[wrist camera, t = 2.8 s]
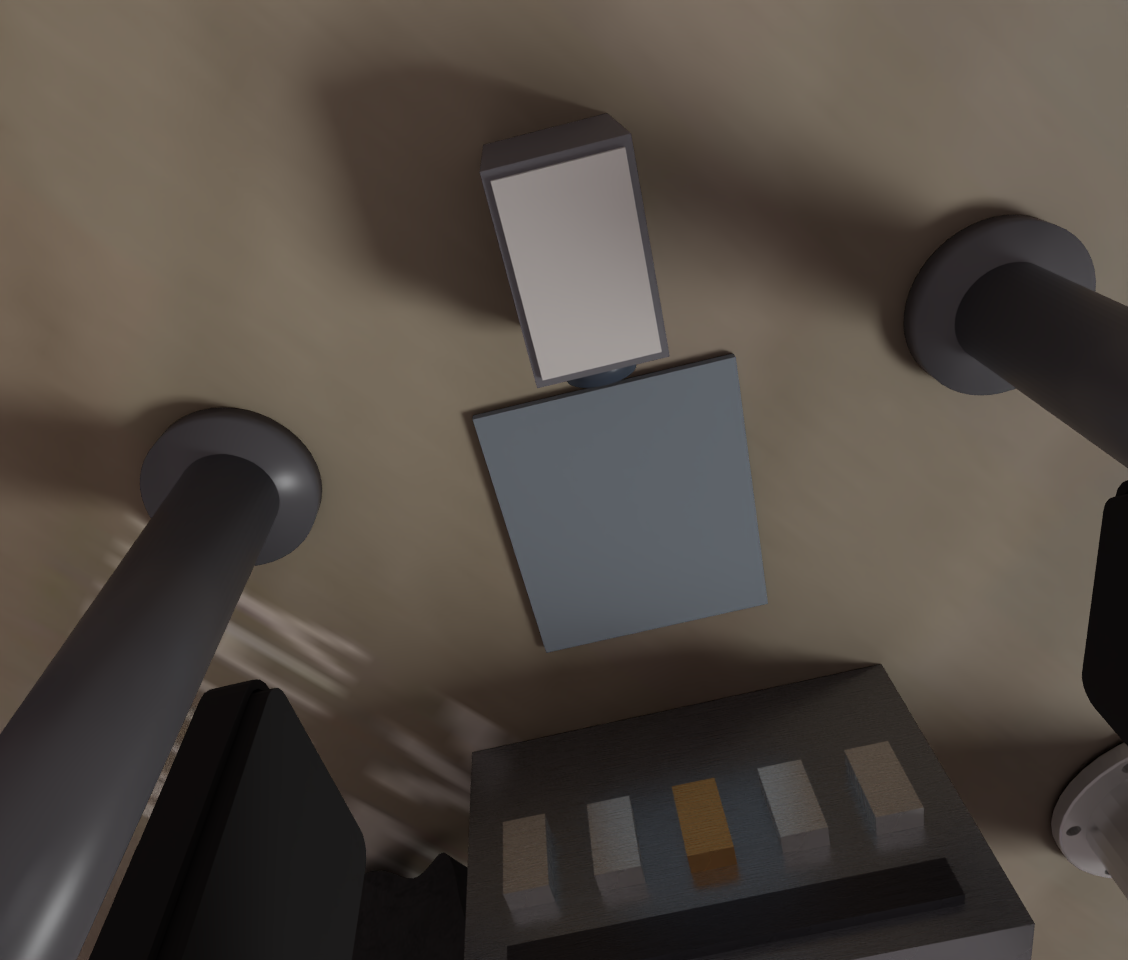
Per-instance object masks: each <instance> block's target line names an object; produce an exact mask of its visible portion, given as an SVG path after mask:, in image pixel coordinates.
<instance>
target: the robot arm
mask: <svg viewBox="0 0 1128 960" xmlns="http://www.w3.org/2000/svg"><path fill="white" fill-rule="evenodd" d="M1082 681H1083V686H1084V689H1085V692H1086V694H1087V696H1088V698H1089V700H1090V702H1091V703H1092V705H1093V706H1094V708H1095V709H1096V710H1097V711H1098V712H1099V714H1100V715H1101V716H1102V717H1103V718H1104V719H1105V720H1106V722H1107V723H1108V724H1109V725H1110V726H1111V727H1112V729H1113V730H1114V731H1115V732H1116V733H1117V734H1118V736H1119V737H1120V738H1121V739H1122V740H1123V741H1124V743H1122V744H1120V745H1118V746H1116V747H1114V748H1113V749H1111V750H1109V751H1108V752H1106V753H1104V754H1103V755H1101V756H1099V757H1098V758H1097V759H1096V760H1094V761H1093V762H1092V763H1090V764H1089V765H1088V766H1087V767H1085V768H1084V769H1083V770H1082V771H1081V772H1080V773H1079V774H1078V775H1077V776H1076V777H1075V778H1074V779H1073V780H1072V781H1071V782H1070V783H1069V785H1068V786H1067V787H1066V789H1065V790H1064V791H1063V793H1062V794H1061V796H1060V798H1059V800H1058V802H1057V804H1056V806H1055V809H1054V811H1053V816H1052V821H1051V828H1052V836H1053V838H1054V840H1055V842H1056V844H1057V846H1058V847H1059V849H1060V850H1061V851H1062V853H1063V854H1064V855H1065V857H1066V858H1067V860H1068V861H1069V862H1070V863H1071V864H1073V865H1074V866H1075V867H1077V868H1078V869H1080V870H1082V871H1085V872H1087V873H1090V874H1092V875H1097V876H1101V877H1107V878H1113V880H1114V881H1115V883H1116V884H1117V885H1118V887H1119V888H1120V890H1121V891H1122V892H1123V894H1124V895H1125V897H1126V898H1127V899H1128V480H1127V481H1125V482H1123V483H1122V484H1121V485H1120V487H1119V488H1118V490H1117V493H1116V497H1113V498H1110V499H1109V500H1108V501H1107V502H1106V503H1105V507H1104V511H1103V518H1102V526H1101V533H1100V541H1099V548H1098V556H1097V564H1096V571H1095V579H1094V586H1093V594H1092V601H1091V609H1090V617H1089V624H1088V632H1087V639H1086V647H1085V654H1084V662H1083V670H1082ZM365 867H366V848H365V842H364V838H363V834H362V832H361V830H360V828H359V826H358V824H357V823H356V821H355V819H354V817H353V815H352V814H351V812H350V810H349V808H348V806H347V805H346V803H345V801H344V799H343V798H342V796H341V794H340V792H339V790H338V789H337V787H336V785H335V783H334V781H333V780H332V778H331V776H330V774H329V772H328V771H327V769H326V767H325V765H324V763H323V762H322V760H321V758H320V756H319V754H318V753H317V751H316V749H315V747H314V745H313V744H312V742H311V740H310V738H309V736H308V735H307V733H306V731H305V729H304V727H303V726H302V724H301V722H300V720H299V718H298V717H297V715H296V713H295V711H294V710H293V708H292V706H291V704H290V702H289V701H288V699H287V697H286V695H285V694H284V693H283V691H282V690H280V689H279V688H273V689H269V688H268V686H267V685H266V684H265V683H264V682H263V681H261V680H250V681H246V682H241V683H237V684H233V685H228V686H224V687H219V688H215V689H211V690H209V691H207V692H206V693H204V695H203V696H202V698H201V699H200V701H199V704H198V706H197V708H196V711H195V713H194V715H193V718H192V720H191V722H190V725H189V727H188V729H187V732H186V734H185V736H184V739H183V741H182V743H181V746H180V748H179V750H178V753H177V755H176V757H175V760H174V762H173V764H172V767H171V769H170V772H169V774H168V776H167V779H166V781H165V783H164V786H163V788H162V790H161V793H160V795H159V797H158V800H157V802H156V804H155V807H154V809H153V811H152V814H151V816H150V818H149V821H148V823H147V825H146V828H145V830H144V832H143V835H142V837H141V840H140V842H139V844H138V846H137V848H136V850H135V852H134V855H133V857H132V859H131V862H130V864H129V866H128V869H127V871H126V873H125V876H124V878H123V880H122V883H121V885H120V888H119V890H118V892H117V895H116V897H115V899H114V902H113V904H112V906H111V909H110V911H109V913H108V916H107V918H106V920H105V923H104V925H103V927H102V930H101V932H100V934H99V937H98V939H97V941H96V944H95V946H94V948H93V951H92V953H91V955H90V958H89V960H352V954H353V947H354V941H355V934H356V927H357V921H358V914H359V907H360V901H361V894H362V887H363V881H364V874H365Z"/></svg>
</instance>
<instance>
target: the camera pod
mask: <svg viewBox="0 0 1128 960" xmlns="http://www.w3.org/2000/svg"><path fill="white" fill-rule="evenodd" d="M480 175H481V179H482V183H483V187H484V190H485V194H486V198H487V202H488V205H489V209H490V213H491V217H492V220H493V224H494V228H495V232H496V235H497V239H498V243H499V247H500V250H501V254H502V258H503V262H504V265H505V269H506V273H507V277H508V280H509V284H510V288H511V292H512V295H513V299H514V303H515V307H516V310H517V314H518V318H519V322H520V325H521V329H522V333H523V337H524V340H525V344H526V348H527V352H528V355H529V359H530V363H531V367H532V370H533V374H534V378H535V382H536V385H537V388H540V387H544V386H548V385H553V384H557V383H561V382H565V381H567V382H568V383H569V384H570V385H572V386H575V387H581V388H592V387H600V386H605V385H608V384H612V383H615V382H617V381H620V380H622V379H624V378H626V377H627V376H629V375H630V374H631V373H632V372H633V371H634V370H635V368H636V364H640V363H644V362H648V361H653V360H657V359H661V358H665V357H669V350H668V344H667V338H666V333H665V327H664V321H663V315H662V310H661V304H660V298H659V292H658V287H657V281H656V275H655V269H654V264H653V258H652V252H651V246H650V241H649V235H648V229H647V223H646V217H645V212H644V206H643V200H642V194H641V189H640V183H639V177H638V171H637V166H636V160H635V154H634V148H633V143H632V137H631V133H630V132H629V131H627V130H626V129H625V128H624V127H623V126H622V125H621V124H619V123H618V122H617V121H616V120H615V119H614V118H612V117H611V116H610V115H609V114H608V113H606V114H602V115H598V116H594V117H590V118H586V119H582V120H579V121H575V122H571V123H567V124H563V125H559V126H555V127H551V128H547V129H544V130H540V131H536V132H532V133H528V134H524V135H520V136H516V137H512V138H508V139H505V140H501V141H497V142H493V143H489V144H485V145H483V151H482V158H481V166H480Z"/></svg>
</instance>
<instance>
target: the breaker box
mask: <svg viewBox="0 0 1128 960" xmlns="http://www.w3.org/2000/svg"><path fill="white" fill-rule="evenodd" d="M1034 926H1035V923H1034V922H1033V920H1032V918H1031V917H1030V915H1029V913H1028V911H1027V910H1026V908H1025V906H1024V905H1023V903H1022V901H1021V900H1020V898H1019V896H1018V895H1017V893H1016V891H1015V889H1014V888H1013V886H1012V884H1011V883H1010V881H1009V879H1008V878H1007V876H1006V874H1005V872H1004V871H1003V869H1002V867H1001V866H1000V864H999V862H998V861H997V859H996V857H995V856H994V854H993V852H992V850H991V849H990V847H989V845H988V844H987V842H986V840H985V839H984V837H983V835H982V834H981V832H980V830H979V828H978V827H977V825H976V823H975V822H974V820H973V818H972V817H971V815H970V813H969V812H968V810H967V808H966V806H965V805H964V803H963V801H962V800H961V798H960V796H959V795H958V793H957V791H956V790H955V788H954V786H953V784H952V783H951V781H950V779H949V778H948V776H947V774H946V773H945V771H944V769H943V768H942V766H941V764H940V762H939V761H938V759H937V757H936V756H935V754H934V752H933V751H932V749H931V747H930V745H929V744H928V742H927V740H926V739H925V737H924V735H923V734H922V732H921V730H920V729H919V727H918V725H917V723H916V722H915V720H914V718H913V717H912V715H911V713H910V712H909V710H908V708H907V707H906V705H905V703H904V701H903V700H902V698H901V696H900V695H899V693H898V691H897V690H896V688H895V686H894V685H893V683H892V681H891V679H890V678H889V676H888V674H887V673H886V671H885V669H884V668H883V666H882V664H881V665H876V666H871V667H867V668H862V669H858V670H853V671H848V672H844V673H839V674H834V675H830V676H825V677H821V678H816V679H811V680H807V681H802V682H797V683H793V684H788V685H784V686H779V687H774V688H770V689H765V690H760V691H756V692H751V693H747V694H742V695H737V696H733V697H728V698H723V699H719V700H714V701H710V702H705V703H700V704H696V705H691V706H686V707H682V708H677V709H673V710H668V711H663V712H659V713H654V714H649V715H645V716H640V717H636V718H631V719H626V720H622V721H617V722H612V723H608V724H603V725H599V726H594V727H589V728H585V729H580V730H575V731H571V732H566V733H562V734H557V735H552V736H548V737H543V738H538V739H534V740H529V741H525V742H520V743H515V744H511V745H506V746H501V747H497V748H492V749H488V750H483V751H478V752H474V753H472V772H471V797H470V823H469V848H468V874H467V899H466V924H465V950H464V960H1031V955H1032V945H1033V936H1034Z"/></svg>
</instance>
